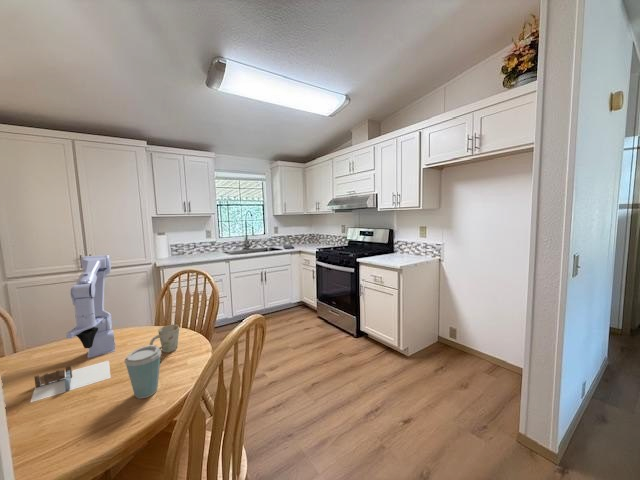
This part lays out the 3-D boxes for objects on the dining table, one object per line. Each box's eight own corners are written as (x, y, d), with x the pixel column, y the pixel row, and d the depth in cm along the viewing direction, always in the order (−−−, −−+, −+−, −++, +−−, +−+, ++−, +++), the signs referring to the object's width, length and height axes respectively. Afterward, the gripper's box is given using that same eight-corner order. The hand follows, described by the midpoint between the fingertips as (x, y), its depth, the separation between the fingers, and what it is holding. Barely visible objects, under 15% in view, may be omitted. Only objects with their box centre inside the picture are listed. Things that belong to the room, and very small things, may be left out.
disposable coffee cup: (137, 407, 87) (134, 362, 85) (120, 396, 92) (117, 354, 91) (169, 388, 96) (167, 348, 95) (152, 379, 101) (150, 341, 100)
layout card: (109, 361, 114) (108, 360, 114) (110, 378, 102) (110, 377, 102) (37, 380, 101) (37, 379, 101) (30, 403, 89) (30, 402, 89)
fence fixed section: (72, 376, 103) (71, 365, 103) (72, 378, 102) (71, 367, 102) (35, 386, 97) (34, 375, 97) (35, 388, 96) (33, 377, 96)
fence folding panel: (70, 389, 95) (69, 379, 94) (65, 390, 94) (64, 381, 94) (71, 377, 102) (70, 368, 101) (66, 378, 101) (66, 369, 101)
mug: (184, 347, 126) (182, 327, 125) (155, 360, 115) (154, 337, 114) (174, 343, 130) (172, 323, 129) (145, 354, 120) (144, 332, 119)
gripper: (91, 307, 113) (94, 338, 115) (56, 321, 99) (60, 356, 100) (107, 307, 113) (110, 338, 114) (75, 321, 99) (79, 357, 100)
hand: (88, 347), depth 107 cm, fingers closed
